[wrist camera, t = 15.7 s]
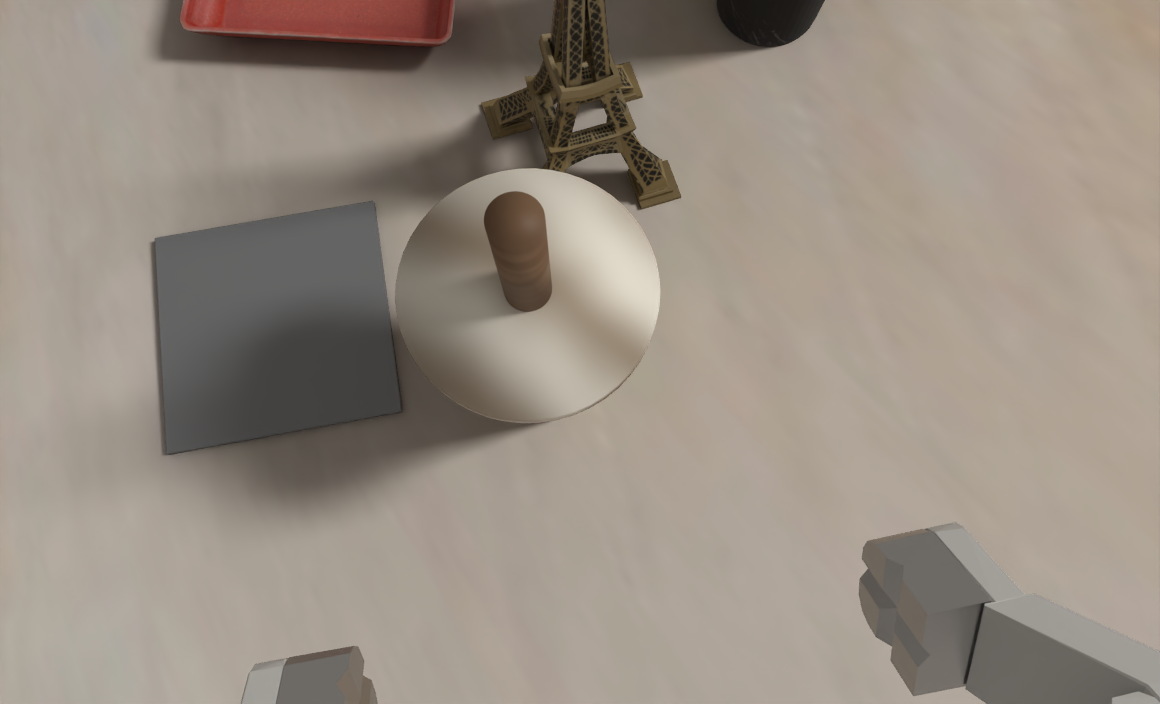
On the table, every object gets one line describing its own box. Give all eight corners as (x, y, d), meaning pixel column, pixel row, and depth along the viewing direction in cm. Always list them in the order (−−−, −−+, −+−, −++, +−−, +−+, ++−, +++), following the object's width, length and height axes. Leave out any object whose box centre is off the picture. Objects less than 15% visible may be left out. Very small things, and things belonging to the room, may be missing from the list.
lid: (593, 467, 33) (599, 441, 25) (353, 357, 34) (283, 298, 26) (697, 236, 36) (732, 145, 28) (471, 141, 37) (441, 27, 29)
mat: (402, 411, 46) (400, 410, 46) (170, 454, 45) (166, 453, 45) (374, 203, 49) (373, 200, 49) (158, 240, 49) (154, 238, 48)
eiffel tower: (482, 105, 51) (397, -289, 27) (629, 64, 52) (674, -353, 28) (526, 243, 49) (476, -55, 25) (680, 198, 50) (778, -133, 25)
